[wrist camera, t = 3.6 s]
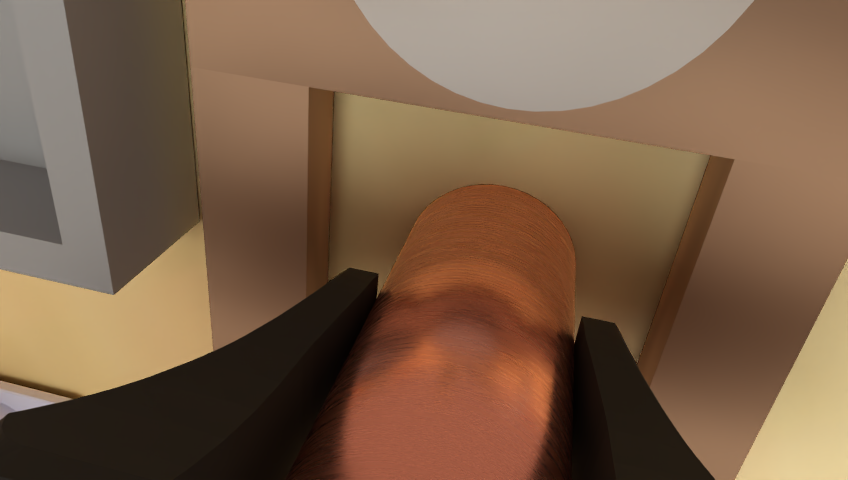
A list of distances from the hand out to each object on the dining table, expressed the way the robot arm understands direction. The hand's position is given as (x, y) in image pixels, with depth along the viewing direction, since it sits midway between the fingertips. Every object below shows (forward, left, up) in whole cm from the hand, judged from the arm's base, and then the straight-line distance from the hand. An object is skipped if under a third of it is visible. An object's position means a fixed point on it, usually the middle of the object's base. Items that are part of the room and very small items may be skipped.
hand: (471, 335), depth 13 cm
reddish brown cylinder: (0, 0, -3) cm, 3 cm away
